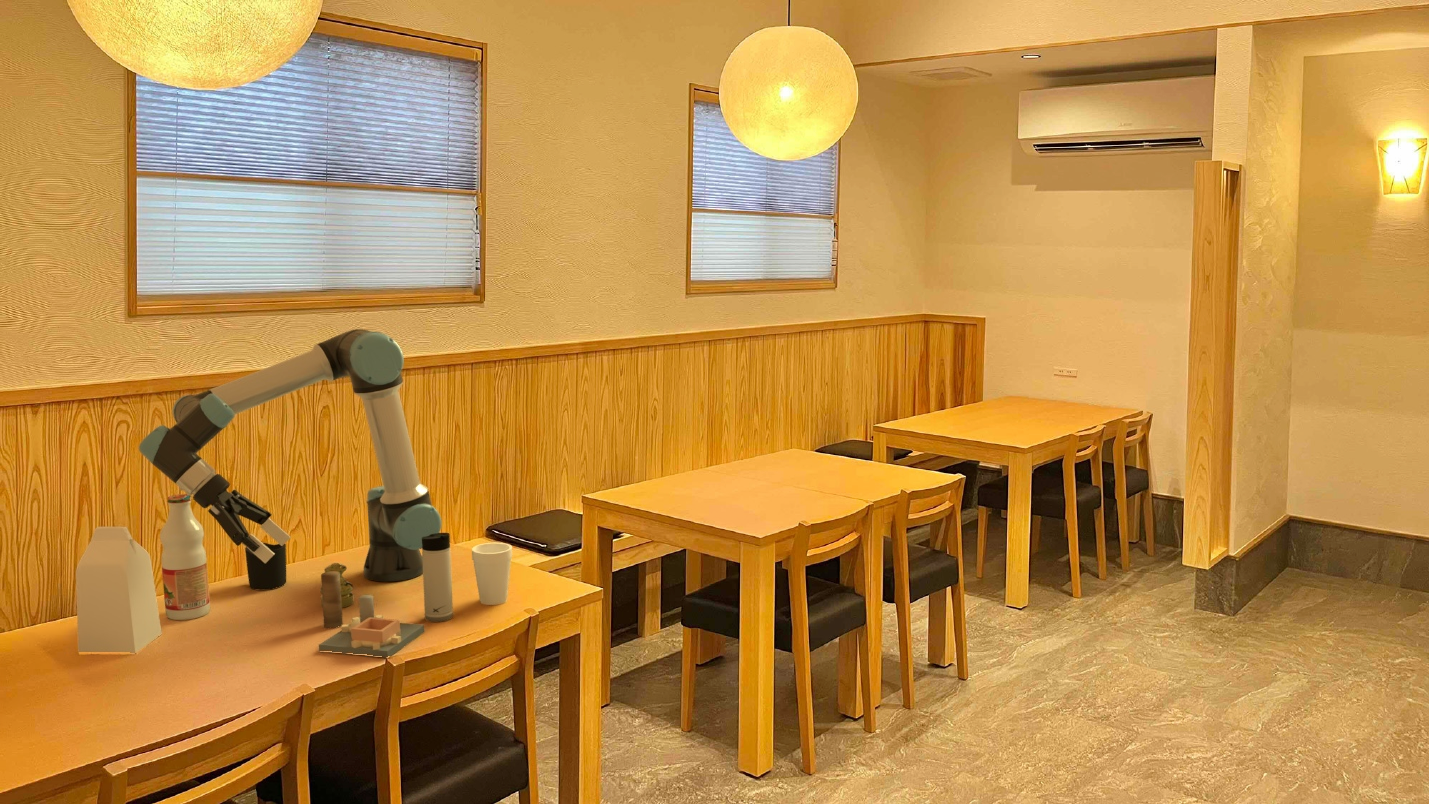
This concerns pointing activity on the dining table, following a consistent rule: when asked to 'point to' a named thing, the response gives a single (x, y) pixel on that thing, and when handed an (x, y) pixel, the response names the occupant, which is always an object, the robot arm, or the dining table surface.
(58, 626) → the dining table surface
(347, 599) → the salt shaker
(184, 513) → the fruit juice
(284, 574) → the pen holder
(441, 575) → the travel mug
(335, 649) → the gear board
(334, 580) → the wooden dowel peg
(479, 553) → the foam cup
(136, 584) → the milk
